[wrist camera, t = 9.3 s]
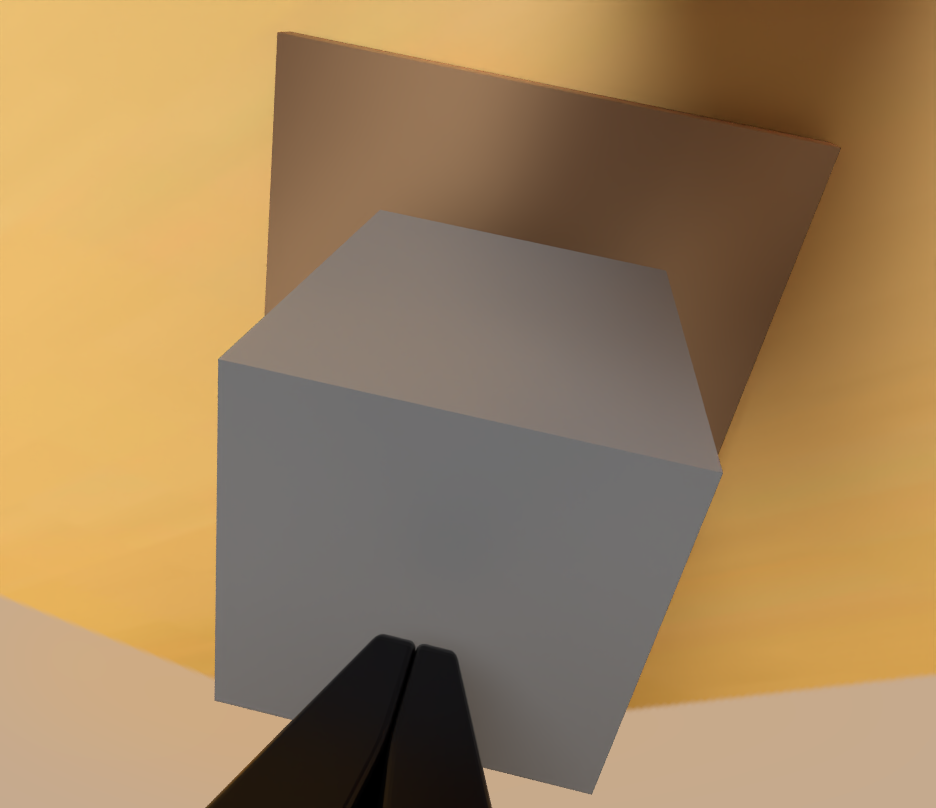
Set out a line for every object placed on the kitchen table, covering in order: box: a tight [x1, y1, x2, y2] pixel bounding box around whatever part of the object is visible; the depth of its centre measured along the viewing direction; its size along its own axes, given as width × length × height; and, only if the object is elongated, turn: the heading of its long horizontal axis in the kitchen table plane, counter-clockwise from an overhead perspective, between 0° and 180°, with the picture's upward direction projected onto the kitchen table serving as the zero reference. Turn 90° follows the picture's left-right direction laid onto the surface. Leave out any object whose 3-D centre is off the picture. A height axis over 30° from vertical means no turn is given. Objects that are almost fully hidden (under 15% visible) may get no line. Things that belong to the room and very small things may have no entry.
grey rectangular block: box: [215, 210, 723, 794], centre depth 12 cm, size 5×5×7 cm
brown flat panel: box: [265, 32, 841, 454], centre depth 13 cm, size 10×10×8 cm
